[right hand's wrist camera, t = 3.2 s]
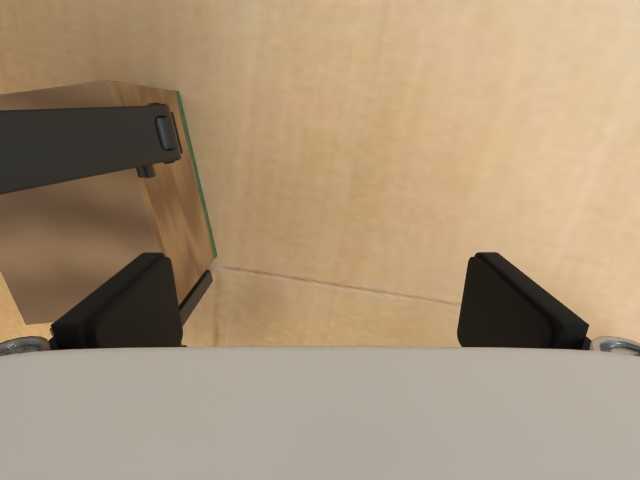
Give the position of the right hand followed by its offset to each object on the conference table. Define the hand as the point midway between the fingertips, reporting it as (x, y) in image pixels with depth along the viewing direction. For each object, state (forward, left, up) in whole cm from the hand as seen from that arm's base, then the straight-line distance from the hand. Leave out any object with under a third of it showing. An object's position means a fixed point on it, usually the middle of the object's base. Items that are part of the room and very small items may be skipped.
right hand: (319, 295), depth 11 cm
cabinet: (+2, +16, -21) cm, 27 cm away
